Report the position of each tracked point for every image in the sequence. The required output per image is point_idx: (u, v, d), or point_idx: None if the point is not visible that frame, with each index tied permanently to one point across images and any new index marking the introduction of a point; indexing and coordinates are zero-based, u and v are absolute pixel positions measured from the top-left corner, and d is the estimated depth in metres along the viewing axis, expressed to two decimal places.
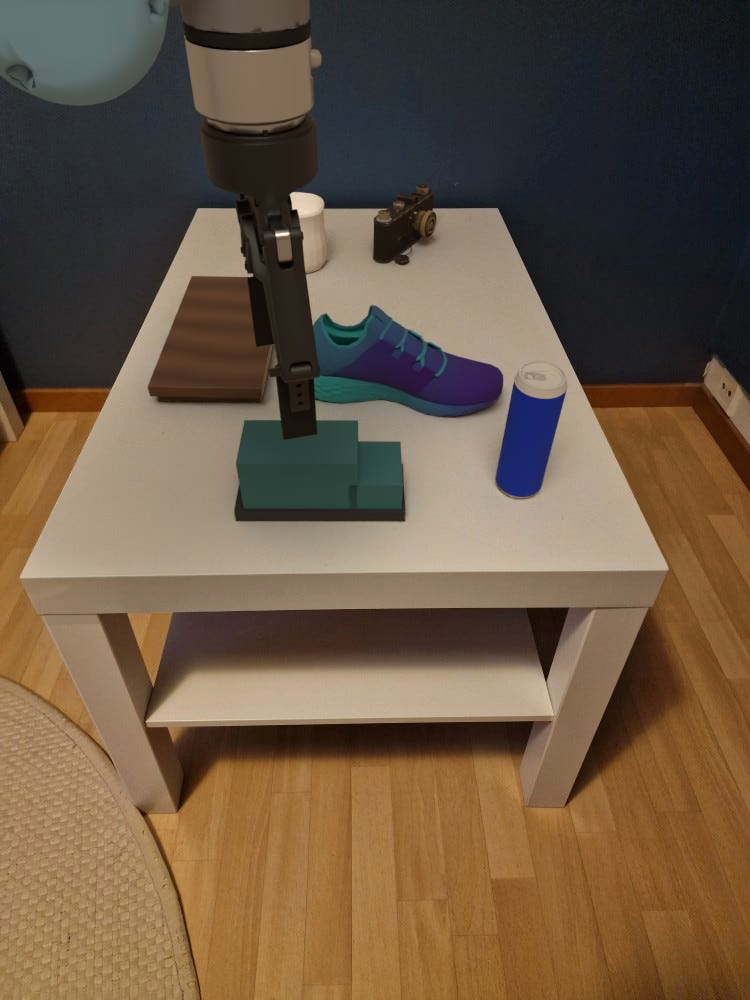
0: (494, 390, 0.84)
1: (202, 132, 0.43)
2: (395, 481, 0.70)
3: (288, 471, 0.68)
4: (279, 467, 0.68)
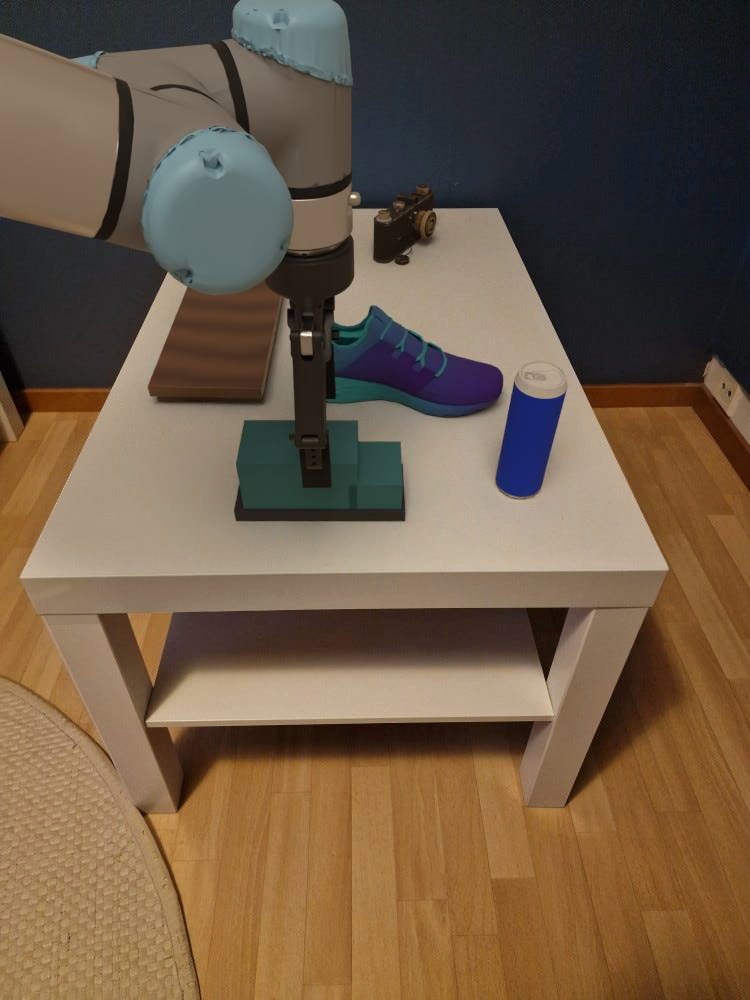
0: (494, 390, 0.84)
1: None
2: (395, 481, 0.70)
3: (288, 471, 0.68)
4: (279, 467, 0.68)
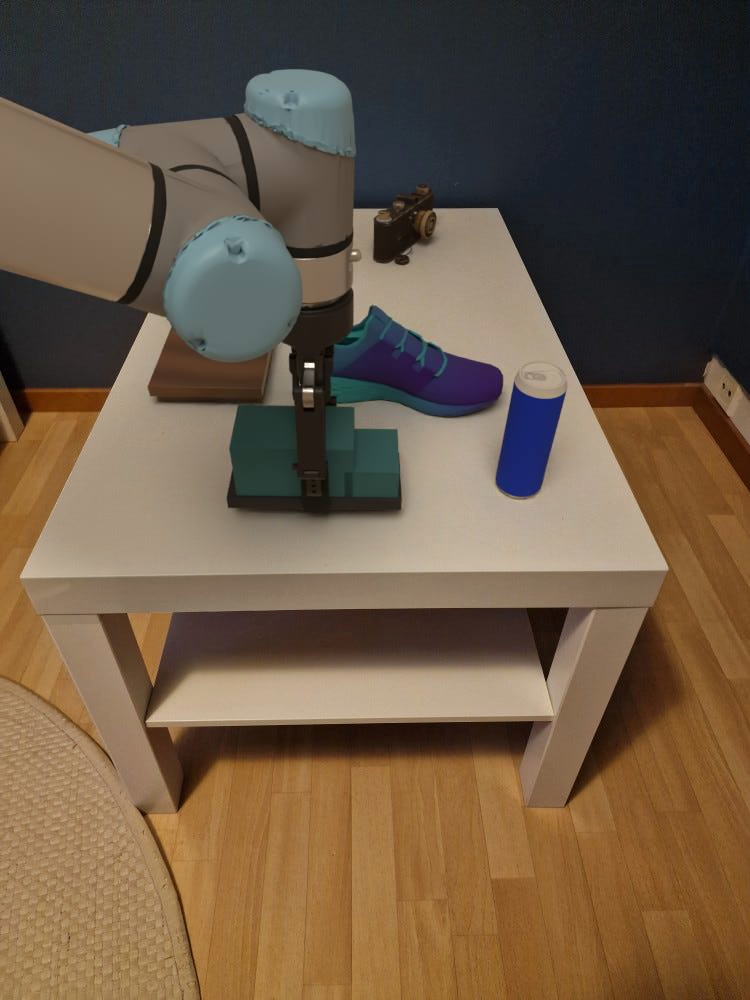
0: (494, 390, 0.84)
1: None
2: (391, 468, 0.69)
3: (283, 456, 0.67)
4: (273, 452, 0.66)
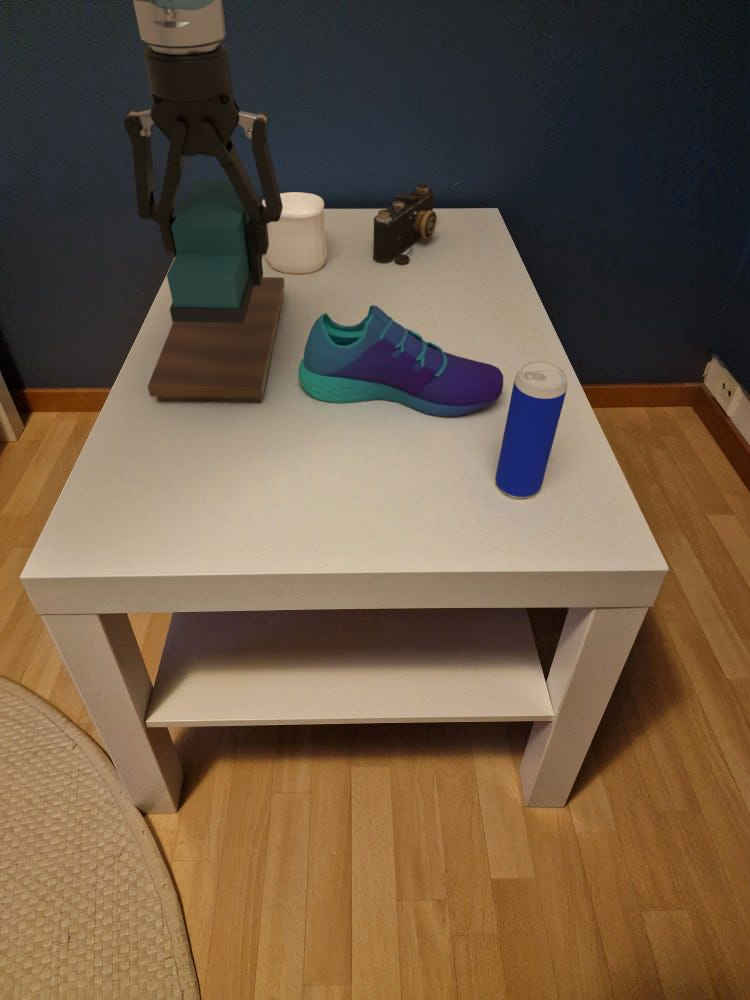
0: (494, 390, 0.84)
1: None
2: (173, 271, 0.69)
3: None
4: None
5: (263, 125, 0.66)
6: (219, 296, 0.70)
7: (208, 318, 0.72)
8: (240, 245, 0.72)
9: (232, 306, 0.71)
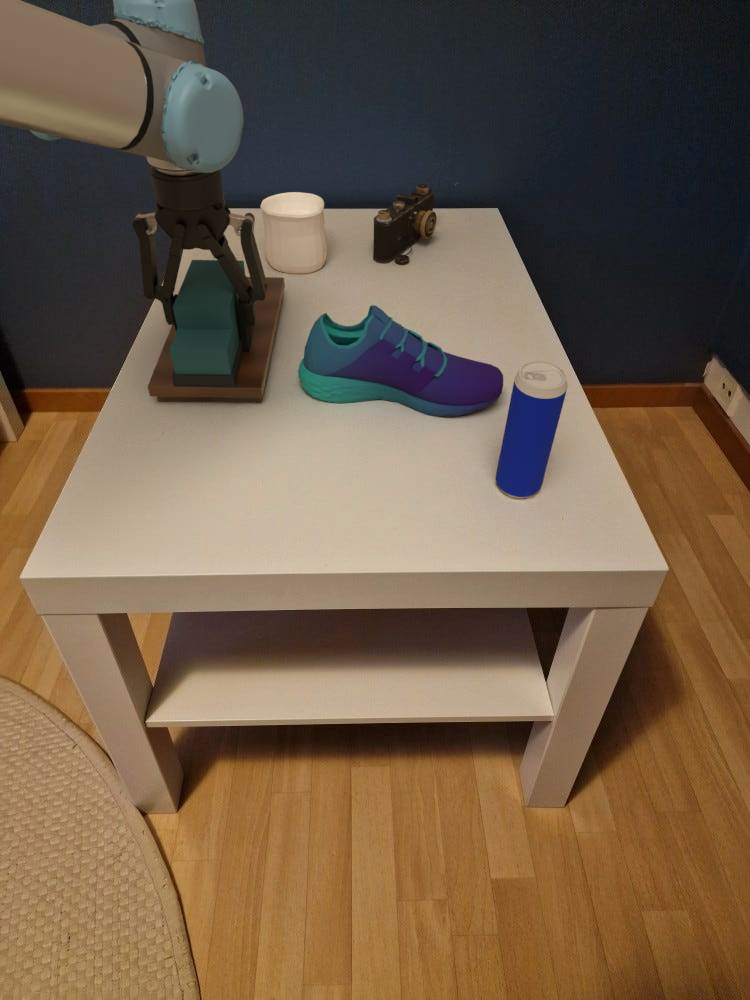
0: (494, 390, 0.84)
1: None
2: (175, 345, 0.82)
3: None
4: None
5: (250, 226, 0.78)
6: (213, 365, 0.83)
7: (204, 383, 0.84)
8: (231, 321, 0.84)
9: (225, 373, 0.84)
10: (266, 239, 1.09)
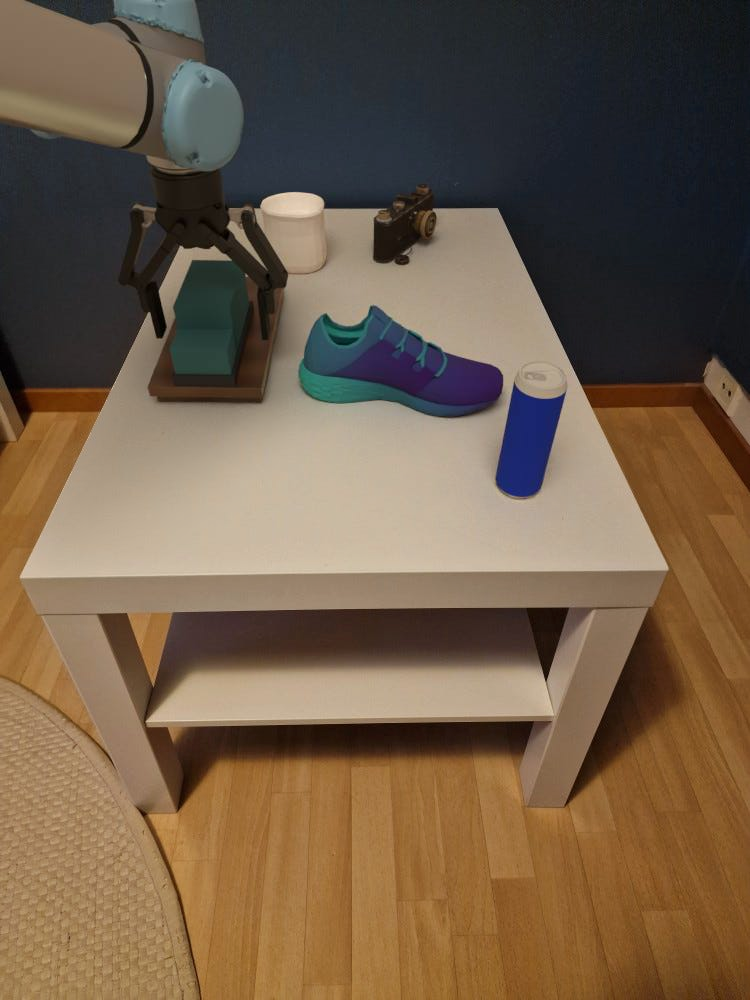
0: (494, 390, 0.84)
1: None
2: (175, 345, 0.82)
3: None
4: None
5: (249, 215, 0.77)
6: (214, 365, 0.83)
7: (205, 383, 0.84)
8: (231, 321, 0.84)
9: (225, 373, 0.84)
10: None
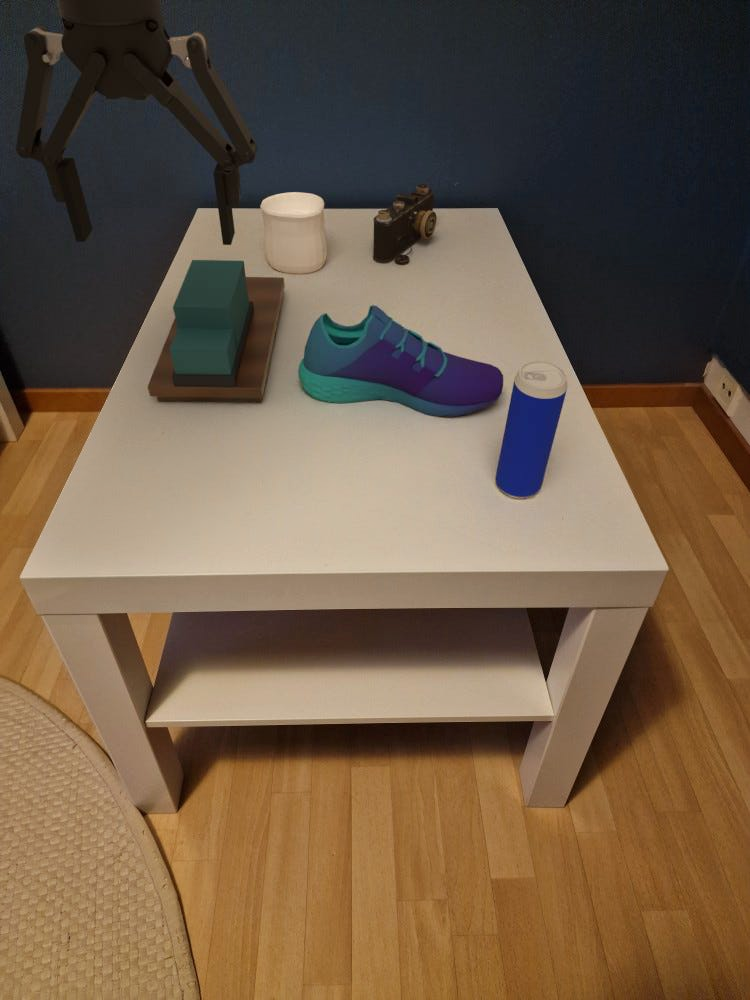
0: (494, 390, 0.84)
1: None
2: (175, 345, 0.82)
3: None
4: None
5: (198, 43, 0.53)
6: (214, 365, 0.83)
7: (205, 383, 0.84)
8: (231, 321, 0.84)
9: (225, 373, 0.84)
10: (266, 239, 1.09)
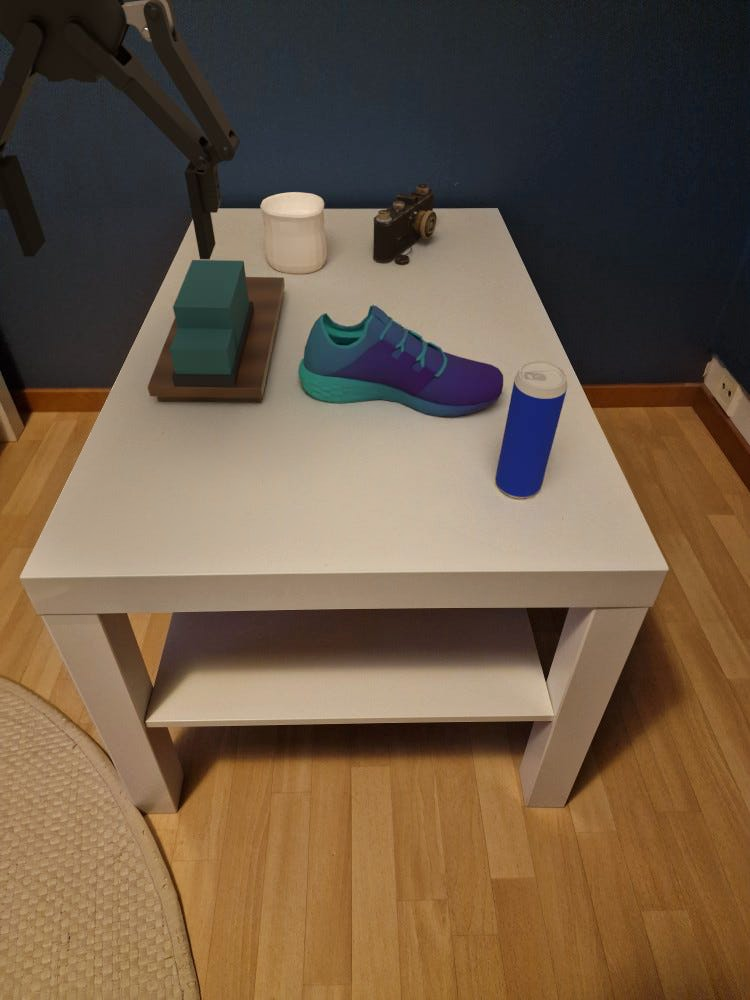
0: (494, 390, 0.84)
1: None
2: (175, 345, 0.82)
3: None
4: None
5: (158, 8, 0.42)
6: (214, 365, 0.83)
7: (205, 383, 0.84)
8: (231, 321, 0.84)
9: (225, 373, 0.84)
10: (266, 239, 1.09)
